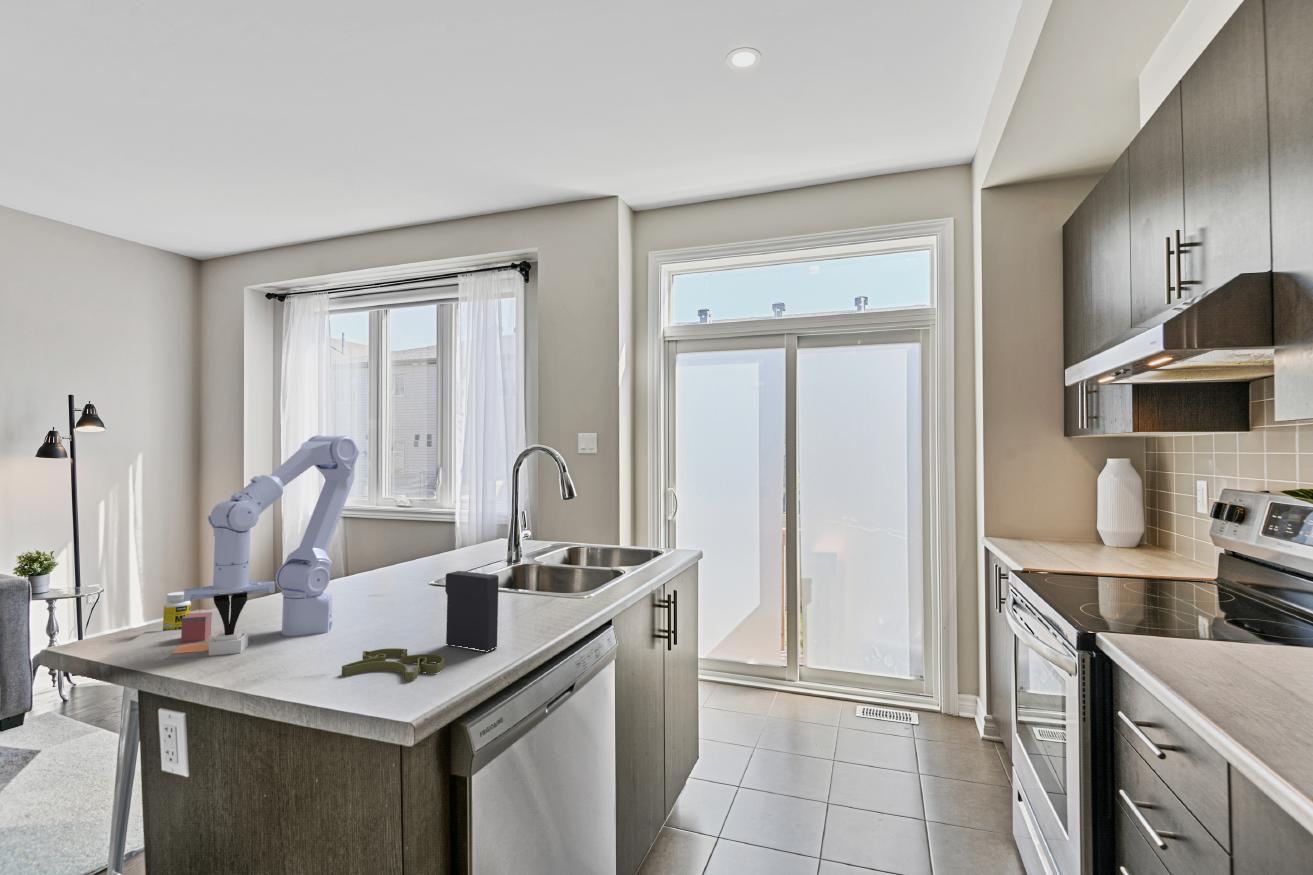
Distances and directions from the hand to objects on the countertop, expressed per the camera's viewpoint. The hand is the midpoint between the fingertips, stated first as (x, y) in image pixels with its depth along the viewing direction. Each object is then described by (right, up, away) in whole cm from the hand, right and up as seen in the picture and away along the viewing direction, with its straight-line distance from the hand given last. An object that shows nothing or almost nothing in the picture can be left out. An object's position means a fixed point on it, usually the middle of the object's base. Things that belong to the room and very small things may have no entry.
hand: (229, 633), depth 122 cm
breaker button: (0, -3, 0) cm, 3 cm away
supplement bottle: (-22, -5, +16) cm, 28 cm away
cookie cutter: (+35, -5, -5) cm, 35 cm away
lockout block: (-12, -5, +7) cm, 15 cm away
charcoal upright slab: (+45, -5, +8) cm, 46 cm away
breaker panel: (-4, -4, 0) cm, 6 cm away
